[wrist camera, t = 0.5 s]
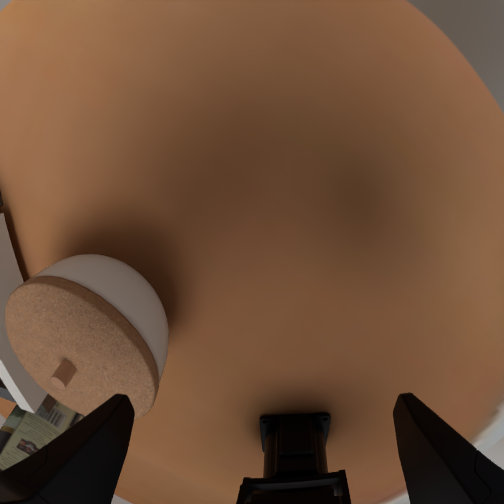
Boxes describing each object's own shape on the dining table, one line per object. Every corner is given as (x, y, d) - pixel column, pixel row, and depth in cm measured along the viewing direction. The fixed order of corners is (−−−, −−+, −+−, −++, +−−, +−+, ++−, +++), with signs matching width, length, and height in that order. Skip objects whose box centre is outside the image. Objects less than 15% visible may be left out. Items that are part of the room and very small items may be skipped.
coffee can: (45, 422, 32) (5, 494, 19) (17, 372, 28) (-39, 451, 15) (106, 444, 32) (71, 530, 19) (82, 395, 28) (29, 496, 15)
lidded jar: (195, 357, 24) (166, 455, 15) (83, 345, 25) (33, 419, 16) (176, 228, 20) (112, 309, 11) (48, 232, 21) (-35, 291, 12)
